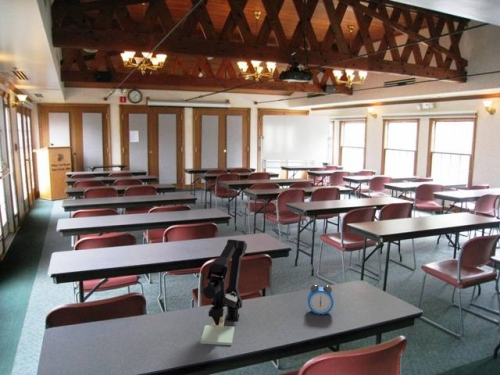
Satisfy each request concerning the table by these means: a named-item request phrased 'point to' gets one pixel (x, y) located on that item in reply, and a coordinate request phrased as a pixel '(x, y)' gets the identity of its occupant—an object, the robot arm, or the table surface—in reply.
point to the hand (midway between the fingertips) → (218, 322)
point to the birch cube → (219, 322)
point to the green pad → (217, 335)
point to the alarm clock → (320, 299)
